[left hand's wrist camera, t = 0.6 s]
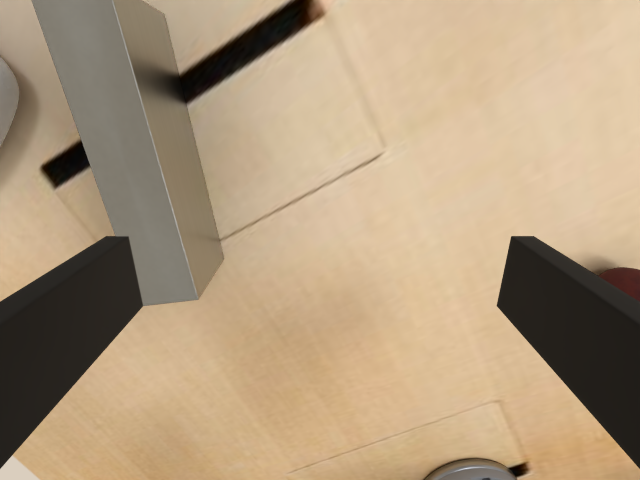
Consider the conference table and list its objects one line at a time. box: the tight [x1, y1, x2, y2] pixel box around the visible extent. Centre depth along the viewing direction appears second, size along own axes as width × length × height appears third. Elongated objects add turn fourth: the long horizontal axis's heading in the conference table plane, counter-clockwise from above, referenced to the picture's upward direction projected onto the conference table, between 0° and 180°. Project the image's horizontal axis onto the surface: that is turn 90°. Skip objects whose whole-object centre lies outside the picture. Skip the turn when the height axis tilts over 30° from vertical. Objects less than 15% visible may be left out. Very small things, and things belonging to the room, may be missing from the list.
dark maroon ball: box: [599, 267, 640, 302], centre depth 37 cm, size 7×8×7 cm
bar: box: [32, 0, 224, 306], centre depth 31 cm, size 24×5×9 cm, turn 7°
